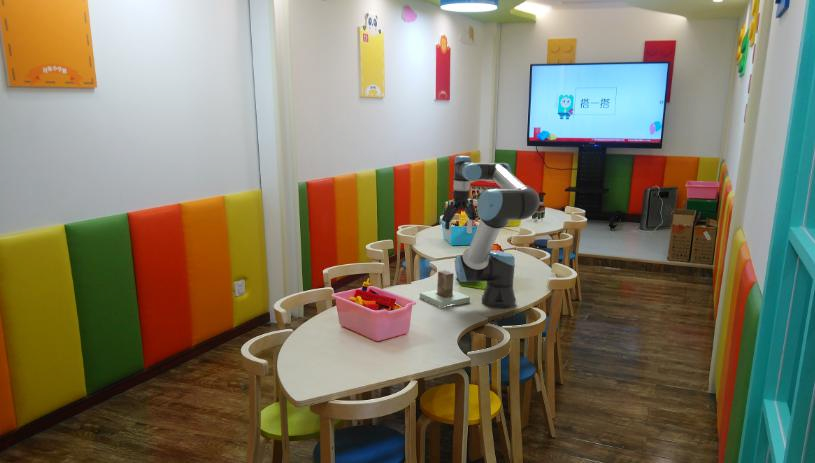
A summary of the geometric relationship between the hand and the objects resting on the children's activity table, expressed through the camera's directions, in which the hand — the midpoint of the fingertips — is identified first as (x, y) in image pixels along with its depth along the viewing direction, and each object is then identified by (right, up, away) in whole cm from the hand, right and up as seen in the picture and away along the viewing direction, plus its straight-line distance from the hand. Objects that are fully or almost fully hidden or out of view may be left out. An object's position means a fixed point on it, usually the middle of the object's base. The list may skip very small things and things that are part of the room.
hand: (458, 234), depth 270 cm
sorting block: (-7, -29, -11) cm, 32 cm away
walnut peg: (-7, -29, -11) cm, 32 cm away
